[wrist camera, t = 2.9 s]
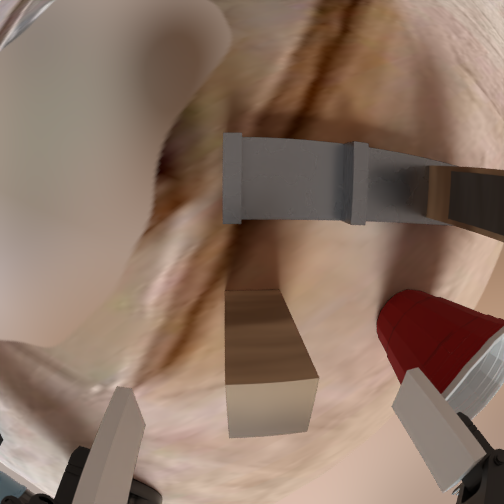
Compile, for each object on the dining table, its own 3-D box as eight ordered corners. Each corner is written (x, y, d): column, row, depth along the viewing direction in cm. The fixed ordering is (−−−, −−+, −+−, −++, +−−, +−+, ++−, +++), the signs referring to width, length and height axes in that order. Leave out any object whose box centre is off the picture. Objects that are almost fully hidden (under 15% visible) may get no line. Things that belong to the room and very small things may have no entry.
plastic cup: (387, 379, 24) (441, 458, 13) (328, 332, 22) (393, 441, 10) (455, 304, 23) (530, 359, 11) (413, 237, 20) (525, 288, 9)
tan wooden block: (225, 290, 20) (225, 384, 10) (279, 289, 20) (319, 378, 11) (226, 341, 21) (229, 443, 12) (276, 340, 22) (305, 436, 12)
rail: (223, 215, 19) (222, 223, 15) (224, 141, 17) (223, 132, 14) (449, 222, 20) (476, 230, 17) (452, 168, 19) (480, 170, 15)
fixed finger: (421, 217, 18) (527, 252, 8) (424, 164, 17) (534, 172, 7) (457, 220, 18) (550, 251, 8) (460, 172, 17) (557, 186, 7)
